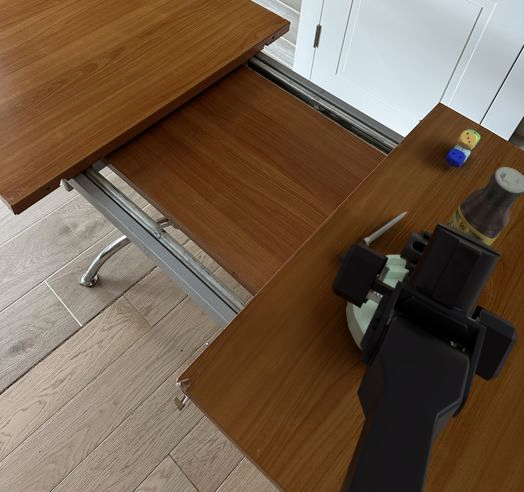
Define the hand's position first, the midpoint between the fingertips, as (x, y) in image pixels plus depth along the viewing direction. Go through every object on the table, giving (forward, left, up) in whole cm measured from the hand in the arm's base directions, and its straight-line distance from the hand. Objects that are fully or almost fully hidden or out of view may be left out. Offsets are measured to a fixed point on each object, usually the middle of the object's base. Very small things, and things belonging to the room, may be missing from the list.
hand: (421, 289), depth 64 cm
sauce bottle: (+2, -14, -10) cm, 17 cm away
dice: (+14, -31, -10) cm, 36 cm away
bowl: (0, 0, -10) cm, 10 cm away
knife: (+11, -6, -10) cm, 16 cm away
